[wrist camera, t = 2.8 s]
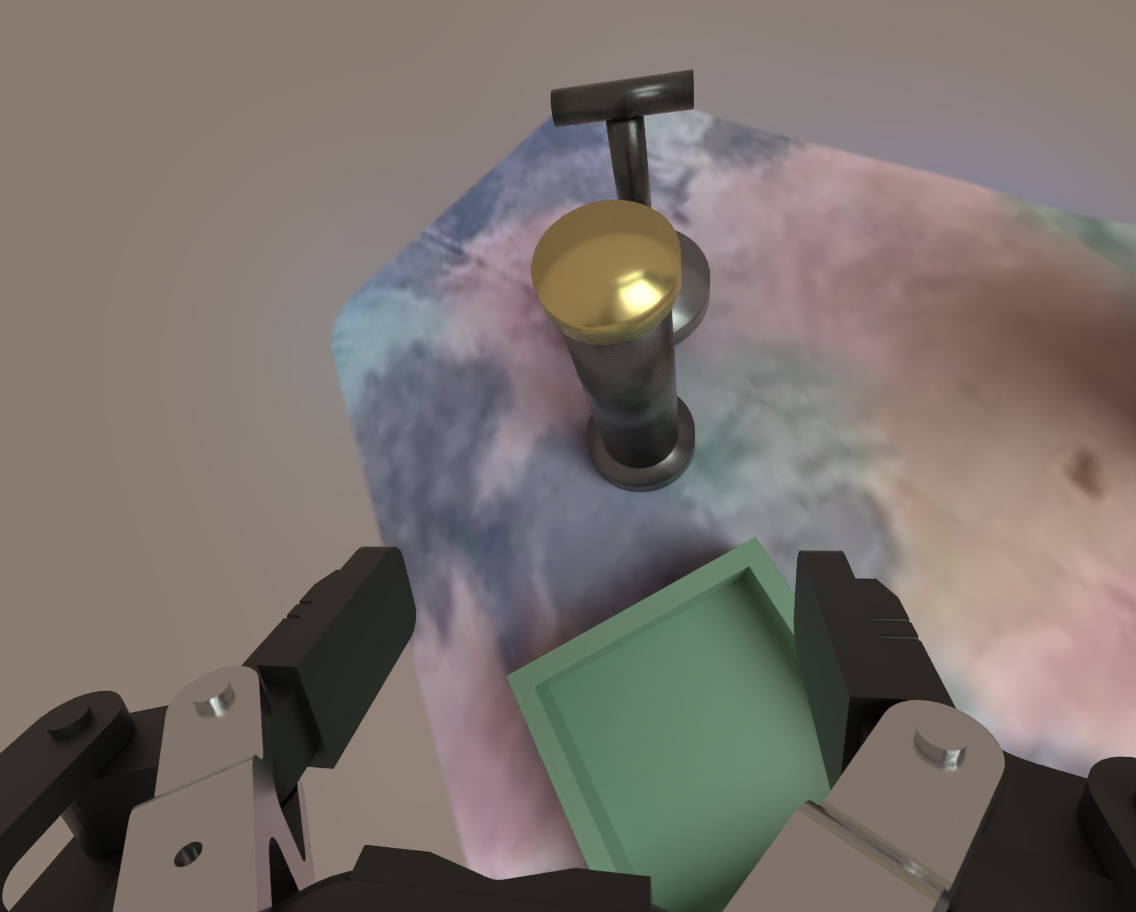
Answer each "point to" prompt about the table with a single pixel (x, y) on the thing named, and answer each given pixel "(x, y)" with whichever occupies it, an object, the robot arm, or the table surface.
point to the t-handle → (641, 161)
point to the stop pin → (620, 335)
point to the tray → (681, 731)
